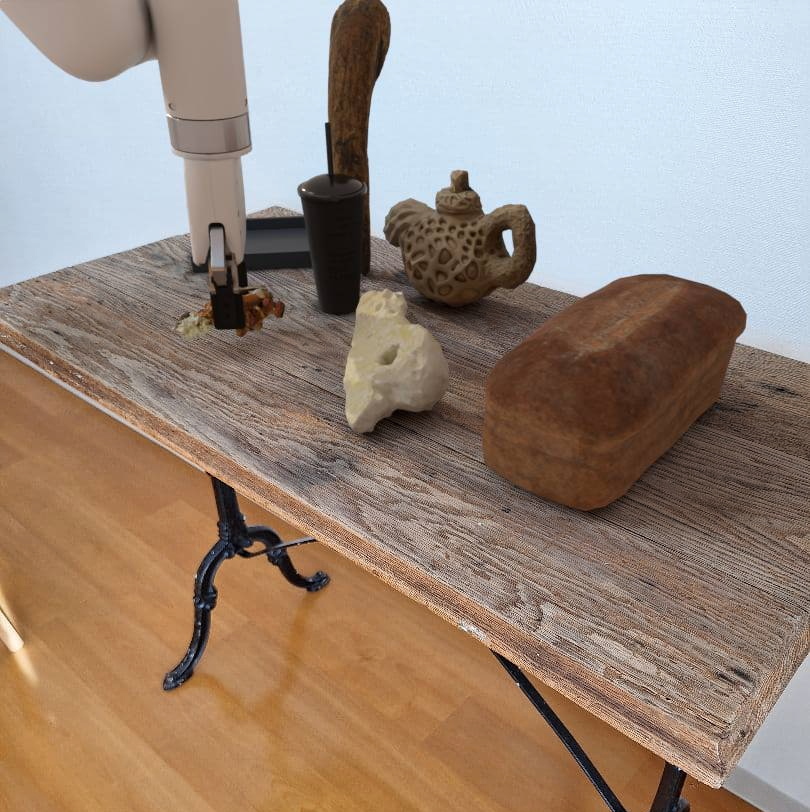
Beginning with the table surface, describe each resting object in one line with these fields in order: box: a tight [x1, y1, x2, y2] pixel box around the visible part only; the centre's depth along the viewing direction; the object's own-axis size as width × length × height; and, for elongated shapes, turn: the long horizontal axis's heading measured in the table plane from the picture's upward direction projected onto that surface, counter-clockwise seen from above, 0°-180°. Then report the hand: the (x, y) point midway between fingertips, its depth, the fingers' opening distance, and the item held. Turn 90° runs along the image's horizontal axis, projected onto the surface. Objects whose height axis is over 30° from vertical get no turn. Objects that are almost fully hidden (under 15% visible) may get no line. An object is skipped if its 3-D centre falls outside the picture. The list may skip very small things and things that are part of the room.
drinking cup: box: [296, 121, 367, 315], centre depth 91 cm, size 8×8×20 cm
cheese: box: [342, 287, 450, 434], centre depth 78 cm, size 15×7×15 cm
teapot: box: [382, 169, 538, 308], centre depth 93 cm, size 21×12×15 cm, turn 49°
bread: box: [481, 273, 748, 512], centre depth 71 cm, size 14×28×12 cm, turn 141°
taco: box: [171, 283, 288, 343], centre depth 86 cm, size 7×12×4 cm, turn 130°
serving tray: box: [190, 215, 313, 273], centre depth 111 cm, size 17×14×2 cm
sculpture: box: [327, 0, 392, 277], centre depth 96 cm, size 7×7×30 cm
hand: (232, 311), depth 87 cm, fingers closed on taco, 7 cm apart
